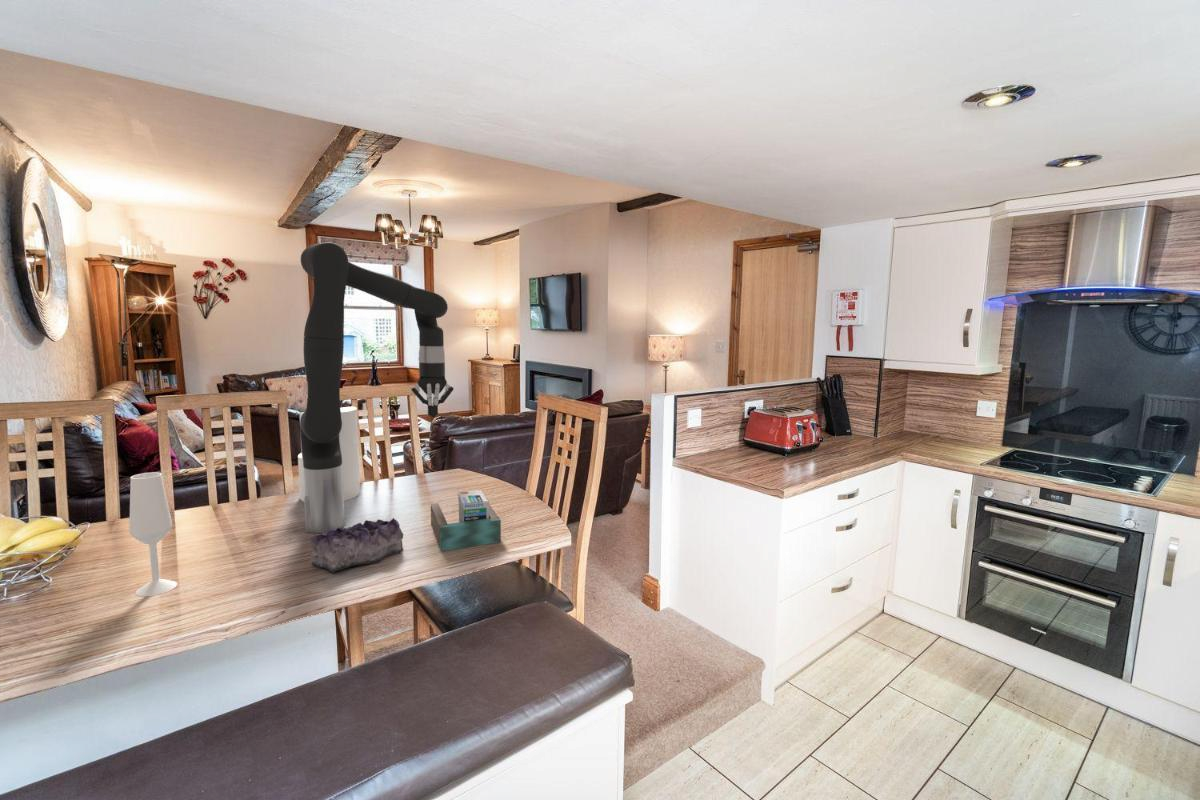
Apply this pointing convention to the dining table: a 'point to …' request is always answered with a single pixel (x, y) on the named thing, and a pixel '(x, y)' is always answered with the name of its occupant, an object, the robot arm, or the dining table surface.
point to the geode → (356, 544)
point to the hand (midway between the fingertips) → (433, 417)
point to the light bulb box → (473, 506)
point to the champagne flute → (150, 524)
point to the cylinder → (343, 455)
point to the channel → (465, 530)
